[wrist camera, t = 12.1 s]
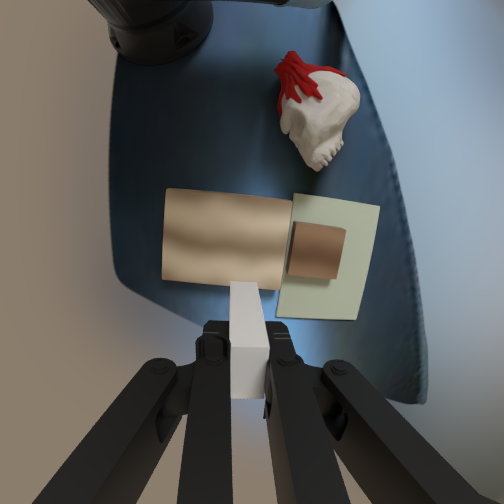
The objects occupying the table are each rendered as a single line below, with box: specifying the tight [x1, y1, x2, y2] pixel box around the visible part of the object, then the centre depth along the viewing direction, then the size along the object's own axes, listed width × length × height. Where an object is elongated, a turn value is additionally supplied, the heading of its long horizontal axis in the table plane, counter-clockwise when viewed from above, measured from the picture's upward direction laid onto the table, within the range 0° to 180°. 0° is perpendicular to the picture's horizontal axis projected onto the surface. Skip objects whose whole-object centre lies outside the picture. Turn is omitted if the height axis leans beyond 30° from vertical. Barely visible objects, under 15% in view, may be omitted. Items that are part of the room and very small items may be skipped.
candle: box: [274, 51, 360, 171], centre depth 32 cm, size 9×11×15 cm
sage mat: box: [276, 193, 380, 320], centre depth 42 cm, size 18×13×1 cm
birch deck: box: [162, 188, 293, 290], centre depth 39 cm, size 12×16×2 cm
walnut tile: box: [286, 221, 346, 279], centre depth 40 cm, size 7×7×2 cm
